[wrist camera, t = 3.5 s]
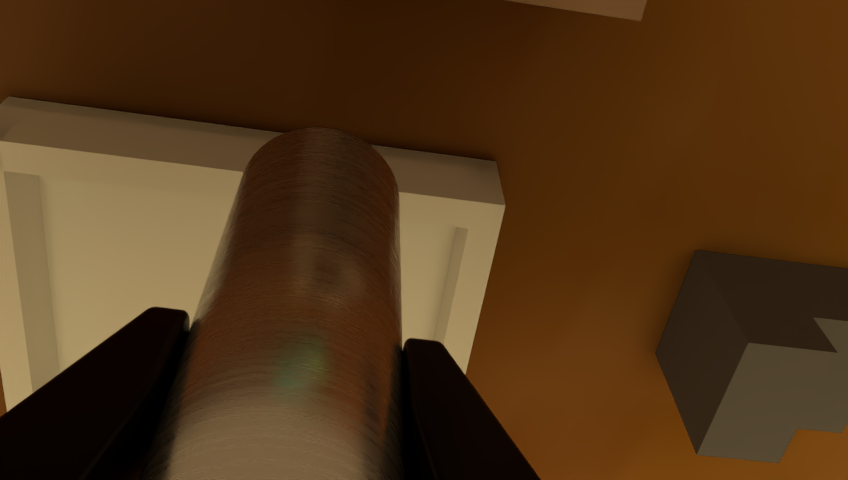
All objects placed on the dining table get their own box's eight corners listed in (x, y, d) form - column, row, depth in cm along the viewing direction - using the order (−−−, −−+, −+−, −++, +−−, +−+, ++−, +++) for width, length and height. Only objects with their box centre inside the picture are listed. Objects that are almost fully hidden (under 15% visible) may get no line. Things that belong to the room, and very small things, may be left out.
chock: (850, 266, 25) (932, 363, 21) (799, 367, 27) (865, 471, 23) (694, 247, 24) (748, 342, 20) (654, 350, 26) (696, 454, 22)
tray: (496, 161, 22) (505, 205, 20) (437, 423, 27) (439, 480, 25) (8, 96, 21) (-36, 136, 19) (43, 383, 26) (11, 439, 24)
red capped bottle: (443, 119, 12) (543, 813, 4) (406, 299, 13) (428, 1029, 6) (217, 84, 11) (-138, 781, 4) (207, 274, 13) (-51, 1023, 5)
